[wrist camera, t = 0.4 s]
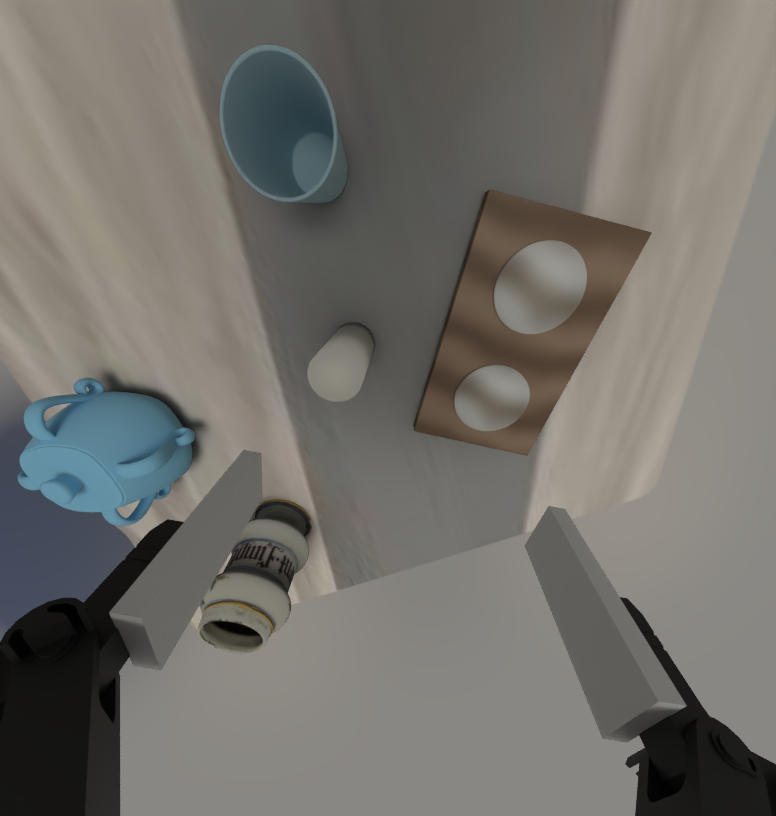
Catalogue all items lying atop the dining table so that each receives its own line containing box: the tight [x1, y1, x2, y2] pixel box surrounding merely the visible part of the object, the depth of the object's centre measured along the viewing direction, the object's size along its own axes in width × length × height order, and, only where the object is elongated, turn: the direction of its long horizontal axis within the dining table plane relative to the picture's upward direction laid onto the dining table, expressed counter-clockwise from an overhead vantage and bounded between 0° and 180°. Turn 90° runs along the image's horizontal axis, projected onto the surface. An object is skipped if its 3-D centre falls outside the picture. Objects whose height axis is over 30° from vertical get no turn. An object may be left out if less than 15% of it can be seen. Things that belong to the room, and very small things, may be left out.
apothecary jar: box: [198, 500, 311, 654], centre depth 44 cm, size 12×12×18 cm
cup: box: [219, 45, 348, 203], centre depth 24 cm, size 8×8×10 cm
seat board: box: [414, 190, 651, 456], centre depth 34 cm, size 27×16×2 cm, turn 167°
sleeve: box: [307, 322, 375, 402], centre depth 31 cm, size 5×5×11 cm
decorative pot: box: [18, 378, 195, 526], centre depth 38 cm, size 16×16×14 cm
